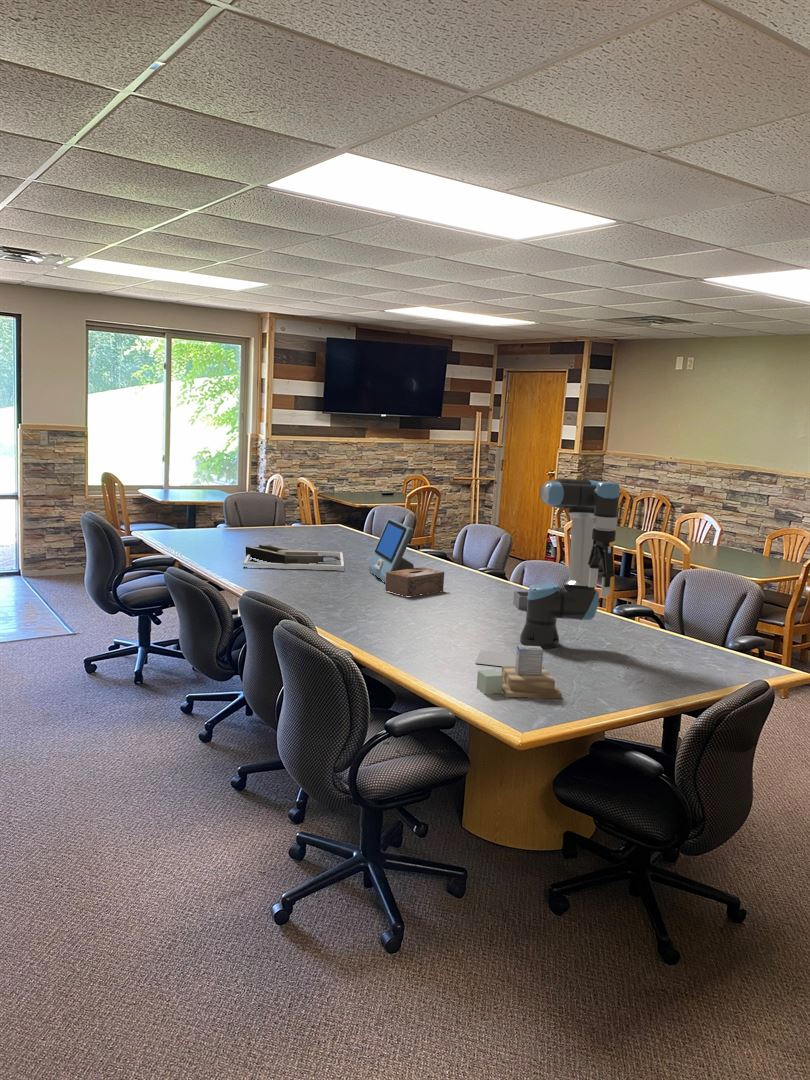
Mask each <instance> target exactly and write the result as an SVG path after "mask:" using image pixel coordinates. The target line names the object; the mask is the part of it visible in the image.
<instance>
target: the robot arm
mask: <svg viewBox="0 0 810 1080" xmlns="http://www.w3.org/2000/svg"><path fill="white" fill-rule="evenodd" d="M620 486H621V485H620V484H619V483H618V482H613V481H598V480H593V479H580V478H579V479H573V478H555V479H550V480H547V481H546V482H544V483H543V484H542V485H541V487H540V490H539V497H540V499H541V501H542V502H543V503H544V505H545V504H546V505H547V506H549V507H552V508H557V509H565V510H568V515H569V516H570V518H571V530H570V531H571V532H570V534H571V535H570V549H569V551H570V552H569V564H568V565H569V566H568V567H569V568H568V579H567V580H566V581H565V583H564V586H563V587H562V588H561V587H560V585H559V584H558V583H553V582H552V583H551V582H544V583H543V582H542V583H537V584H532V585H533V586H531V585H530V586H531V587H530V586H529V587H528V591H527V592H528V597H527V599H528V603H527V610H526V614H525V615H526V617H525V618H526V619H525V623H524V625H523V628H522V631H521V633H520V636H519V642H520V644H522V645H523V646H540V647H541V648H542V649H554V648H557V647H559V645H560V636H559V632H558V631H559V630H558V628H557V619H563V620H564V619H565V620H578V621H591V620H593V619H594V618H595V616H596V614H597V610H598V606H599V601H600V598H599V597H605V598H606V597H607V598H609V597H610V594H611V584H612V583H611V582H612V577H614V576H615V565H614V546H610V543H613V542H616V535H617V531H616V529H617V525H618V512H619V503H620V495H621V492H620V491H621V489H620V488H621V487H620ZM600 563H601V566H602V573H603V574H602V575H601V586H600V588H601V589H600V590H601V591H600V593H599V591H598V590H597V589H596V588H597V587H598V577H599V569H600Z"/></svg>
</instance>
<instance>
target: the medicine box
mask: <svg viewBox="0 0 810 1080" xmlns="http://www.w3.org/2000/svg"><path fill="white" fill-rule="evenodd" d="M543 649H544V648H541V647H540V646H527V645H517V646H516V653H515V654H516V665H515V671H516V673H517V675H541V674H542V667H543V662H544V660H543V659H544V650H543Z"/></svg>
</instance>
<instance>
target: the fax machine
mask: <svg viewBox="0 0 810 1080" xmlns="http://www.w3.org/2000/svg"><path fill="white" fill-rule="evenodd" d="M313 551H314V550H298V549H293V548H289V547H283V546H279V545H274V544H259V545H258V546H245V557H246V556H247V555H248V554H249V555H250V557H252V558H256V559H259V560H263V561H267V562H271V563H283V564H309V563H318V562H323V563H324V562H331V560H324V557H323V556H321V555H318V553H317V552H318V550H317V552H313ZM321 553H322V552H321ZM328 555H329V554H328ZM331 556H332V555H331ZM332 558H334V559H335V560H333V562H336V561H340V560H341V559H340V558H339V557H338V558H337V557H335V556H333V557H332Z"/></svg>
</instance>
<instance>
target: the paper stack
mask: <svg viewBox="0 0 810 1080" xmlns="http://www.w3.org/2000/svg"><path fill="white" fill-rule="evenodd" d="M475 664H481V665H489V666H495V667H496V666H497V667H498V666H499V667H502V666H516V653H509V652H502V651H491V650H482V649H481V650H480V651H479V653H478V656H477V659H476V660H475Z"/></svg>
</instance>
